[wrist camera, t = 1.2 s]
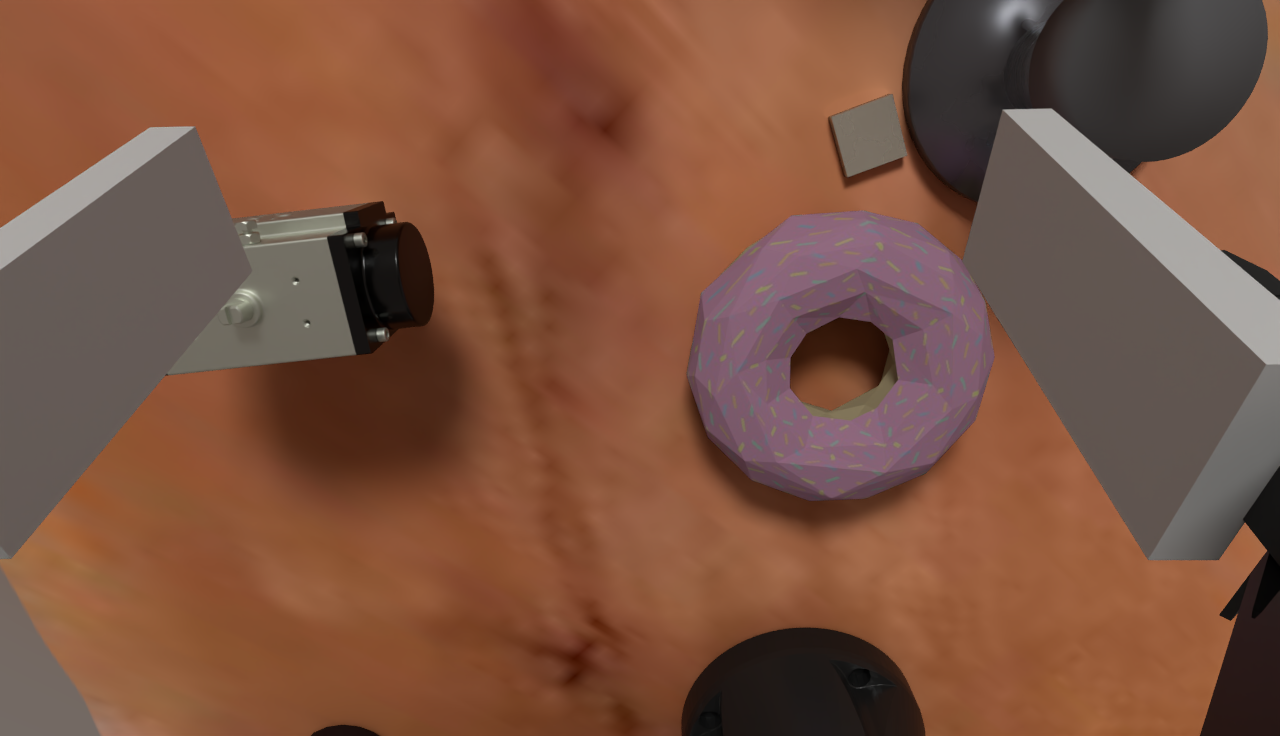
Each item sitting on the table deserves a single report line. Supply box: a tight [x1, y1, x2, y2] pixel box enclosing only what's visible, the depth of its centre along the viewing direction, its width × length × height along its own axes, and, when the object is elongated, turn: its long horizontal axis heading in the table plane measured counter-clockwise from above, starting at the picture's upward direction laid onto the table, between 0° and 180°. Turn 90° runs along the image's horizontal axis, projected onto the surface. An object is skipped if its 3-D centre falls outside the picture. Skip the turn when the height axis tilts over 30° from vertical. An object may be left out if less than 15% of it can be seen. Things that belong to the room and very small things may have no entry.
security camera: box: [165, 201, 434, 376], centre depth 33 cm, size 6×12×12 cm, turn 96°
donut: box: [687, 211, 994, 501], centre depth 39 cm, size 16×15×5 cm
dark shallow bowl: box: [829, 0, 1141, 202], centre depth 33 cm, size 13×16×6 cm
